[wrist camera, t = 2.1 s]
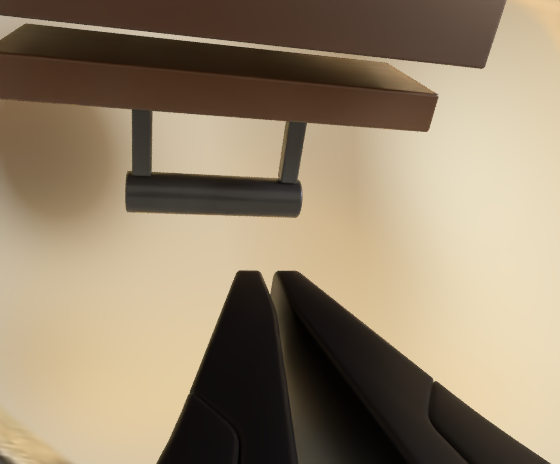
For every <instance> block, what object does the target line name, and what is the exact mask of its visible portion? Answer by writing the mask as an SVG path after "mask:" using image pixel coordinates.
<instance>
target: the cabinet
mask: <svg viewBox="0 0 560 464" xmlns="http://www.w3.org/2000/svg"><path fill="white" fill-rule="evenodd" d="M505 3H506V0H0V15H3V16H13V17H21V18H30V19H40V20H48V21H57V22H66V23H75V24H84V25H93V26H102V27H111V28H121V29H129V30H139V31H148V32H156V33H165V34H174V35H183V36H192V37H201V38H210V39H220V40H228V41H237V42H247V43H255V44H264V45H273V46H282V47H291V48H300V49H309V50H319V51H328V52H336V53H345V54H354V55H364V56H372V57H381V58H390V59H399V60H408V61H417V62H427V63H435V64H444V65H453V66H462V67H472V68H480V69H482V68H484V67H485V65H486V61H487V58H488V55H489V52H490V49H491V46H492V43H493V40H494V37H495V34H496V31H497V28H498V25H499V21H500V19H501V15H502V12H503V9H504V6H505Z"/></svg>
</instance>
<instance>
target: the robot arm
mask: <svg viewBox="0 0 560 464" xmlns="http://www.w3.org/2000/svg"><path fill="white" fill-rule="evenodd" d="M157 464H550V463H549V462H547V461H546V460H544V459H543V458H541V457H540V456H539V455H537V454H536V453H534V452H532V451H531V450H530V449H528V448H527V447H525V446H524V445H522V444H521V443H519V442H518V441H516V440H515V439H513V438H512V437H511V436H509V435H508V434H506V433H505V432H504V431H502V430H501V429H499V428H498V427H496V426H495V425H494V424H492V423H491V422H489V421H488V420H487V419H485V418H484V417H482V416H481V415H480V414H478V413H477V412H476V411H474V410H473V409H472V408H470V407H469V406H468V405H467V404H465V403H464V402H463V401H461V400H460V399H459V398H457V397H456V396H455V395H453V394H452V393H451V392H450V391H448V390H447V389H446V388H445V387H443V386H442V385H441V384H440V383H438V382H437V381H435V382H433V378H432V377H431V376H429V375H428V374H427V373H425V372H424V371H423V370H422V369H420V368H419V367H418V366H417V365H415V364H414V363H413V362H412V361H410V360H409V359H408V358H407V357H405V356H404V355H403V354H401V353H400V352H399V351H398V350H397V349H395V348H394V347H393V346H392V345H390V344H389V343H388V342H386V341H385V340H384V339H383V338H381V337H380V336H379V335H378V334H376V333H375V332H374V331H372V330H371V329H370V328H369V327H368V326H366V325H365V324H364V323H363V322H361V321H360V320H359V319H357V318H356V317H355V316H354V315H352V314H351V313H350V312H349V311H347V310H346V309H345V308H343V307H342V306H341V305H340V304H338V303H337V302H336V301H335V300H334V299H332V298H331V297H330V296H329V295H327V294H326V293H325V292H324V291H322V290H321V289H320V288H318V287H317V286H316V285H315V284H313V283H312V282H311V281H310V280H308V279H307V278H306V277H305V276H303V275H302V274H301V273H299V272H297V271H277V272H276V273H275V274H274V277H273V282H272V288H271V294H269V291H268V289H267V287H266V284H265V282H264V279H263V277H262V274H261V273H260V272H259V271H238V272H237V273H236V276H235V278H234V280H233V283H232V285H231V288H230V291H229V293H228V296H227V298H226V301H225V303H224V306H223V308H222V311H221V314H220V316H219V319H218V321H217V324H216V326H215V329H214V332H213V334H212V337H211V339H210V342H209V344H208V347H207V349H206V352H205V354H204V357H203V359H202V362H201V365H200V367H199V370H198V372H197V375H196V377H195V380H194V382H193V385H192V387H191V390H190V394H189V395H188V397H187V399H186V402H185V405H184V407H183V410H182V412H181V414H180V417H179V419H178V421H177V423H176V426H175V428H174V430H173V432H172V435H171V437H170V439H169V441H168V443H167V445H166V447H165V449H164V450H163V452H162V454H161V456H160V458H159V460H158V462H157Z"/></svg>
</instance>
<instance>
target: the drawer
mask: <svg viewBox="0 0 560 464" xmlns="http://www.w3.org/2000/svg"><path fill="white" fill-rule="evenodd" d="M0 99H5V100H18V101H31V102H44V103H58V104H70V105H83V106H96V107H109V108H122V109H132V171H128V172H127V175H126V189H125V203H126V211H127V212H134V213H135V212H136V213H165V214H166V213H167V214H198V215H227V216H228V215H229V216H258V217H259V216H261V217H289V218H290V217H291V218H296V217H298V216H299V214H300V211H301V206H302V186H301V183H300V181H299V180H297V178H298V173H299V166H300V161H301V155H302V149H303V142H304V136H305V131H306V125H307V123H317V124H330V125H343V126H356V127H369V128H383V129H395V130H408V131H421V132H427V131H428V130H429V128H430V124H431V121H432V117H433V114H434V110H435V107H436V103H437V100H438V94H436V93H435V92H433V91H431V90H430V89H428V88H427V87H425V86H423V85H422V84H420V83H418V82H417V81H415V80H414V79H412V78H410V77H409V76H407V75H405V74H403V73H402V72H400V71H399V70H397V69H395V68H394V67H392V66H391V65H389V64H388V63H382V62H374V61H363V60H355V59H346V58H337V57H327V56H319V55H309V54H300V53H291V52H282V51H272V50H263V49H255V48H245V47H236V46H226V45H218V44H209V43H199V42H190V41H181V40H172V39H163V38H154V37H144V36H135V35H126V34H116V33H107V32H98V31H89V30H79V29H71V28H62V27H53V26H43V25H34V24H24V25H23V26H21V27H19V28H18V29H16V30H15V31H14V32H12V33H10V34H9V35H7V36H6V37H4V38H3V39H1V40H0ZM152 111H162V112H174V113H187V114H200V115H213V116H226V117H239V118H252V119H265V120H278V121H286V125H285V132H284V139H283V146H282V152H281V160H280V166H279V173H278V177H279V178H278V179H277V178H259V177H239V176H220V175H199V174H181V173H160V172H159V173H158V172H151V170H152Z"/></svg>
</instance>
